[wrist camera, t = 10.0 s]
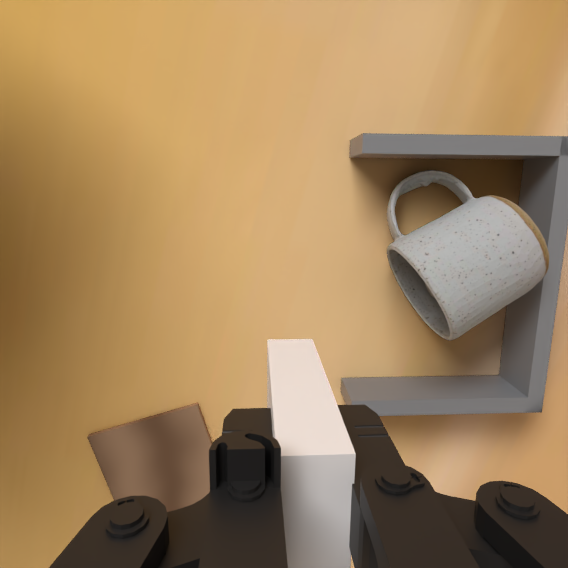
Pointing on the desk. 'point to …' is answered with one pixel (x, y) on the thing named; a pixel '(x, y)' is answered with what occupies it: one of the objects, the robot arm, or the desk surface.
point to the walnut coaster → (157, 457)
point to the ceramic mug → (465, 257)
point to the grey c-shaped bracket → (519, 314)
